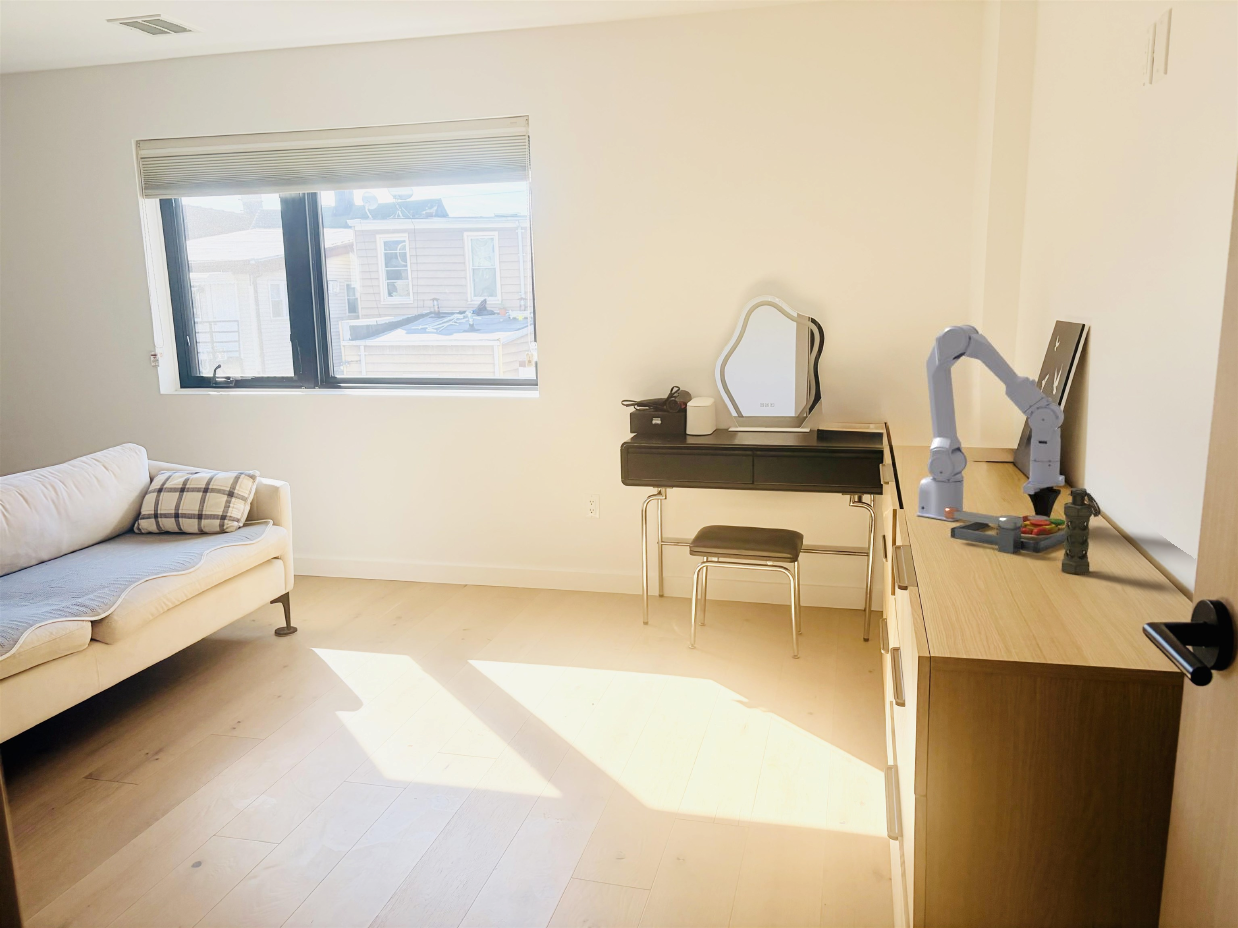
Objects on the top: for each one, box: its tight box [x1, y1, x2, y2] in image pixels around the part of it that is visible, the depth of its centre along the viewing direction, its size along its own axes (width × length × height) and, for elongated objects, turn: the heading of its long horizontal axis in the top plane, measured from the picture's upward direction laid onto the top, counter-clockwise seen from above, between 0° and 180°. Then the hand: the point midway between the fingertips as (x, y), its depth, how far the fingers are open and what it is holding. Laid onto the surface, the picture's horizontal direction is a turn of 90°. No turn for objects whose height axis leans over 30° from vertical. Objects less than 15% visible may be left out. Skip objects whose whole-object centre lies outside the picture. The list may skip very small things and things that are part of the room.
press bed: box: [950, 521, 1069, 555], centre depth 177 cm, size 18×18×5 cm
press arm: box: [945, 507, 1023, 529], centre depth 173 cm, size 16×4×2 cm, turn 38°
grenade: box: [1061, 487, 1102, 575], centre depth 154 cm, size 9×6×15 cm, turn 153°
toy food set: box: [989, 514, 1066, 541], centre depth 182 cm, size 13×13×3 cm
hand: (1042, 521), depth 187 cm, fingers closed
